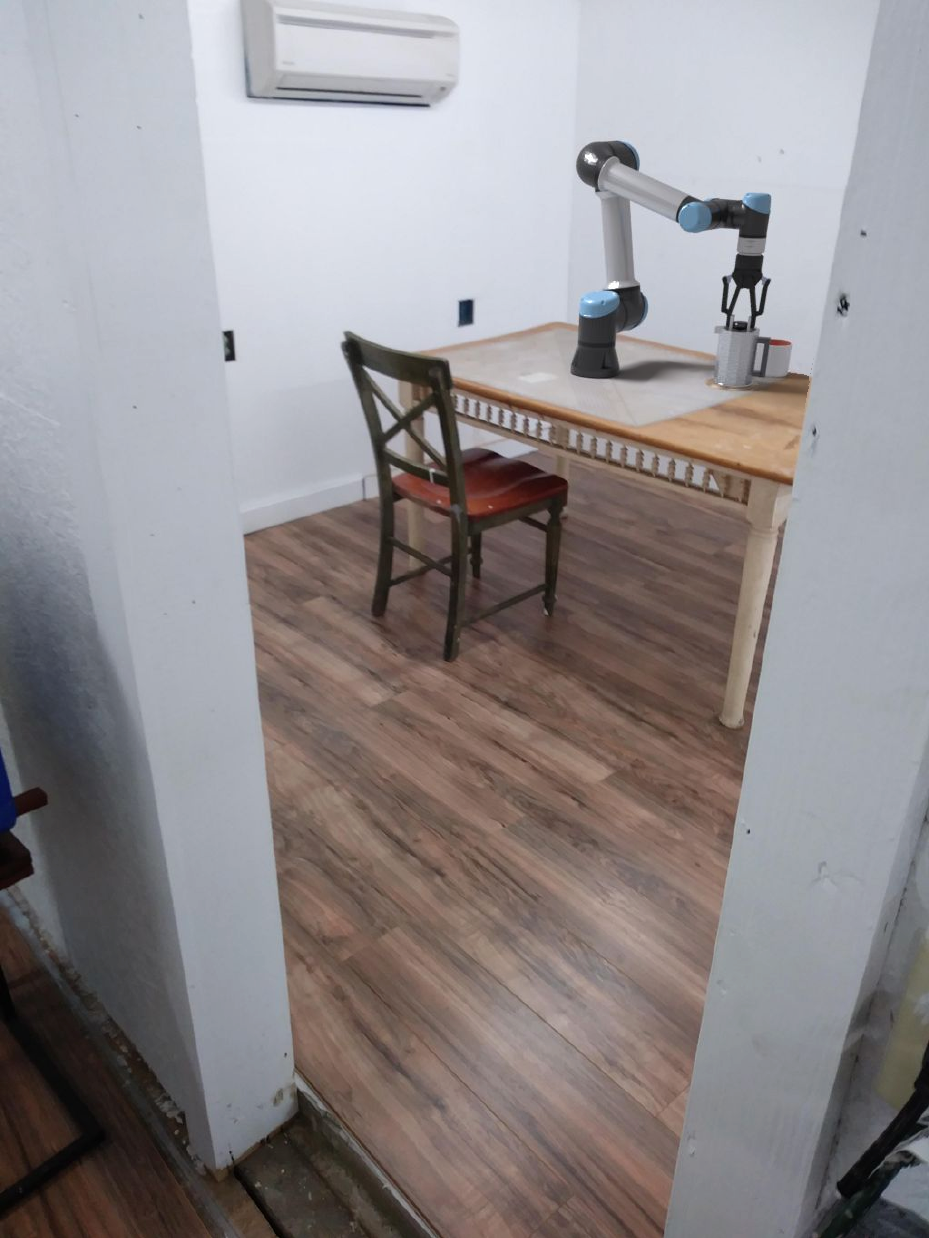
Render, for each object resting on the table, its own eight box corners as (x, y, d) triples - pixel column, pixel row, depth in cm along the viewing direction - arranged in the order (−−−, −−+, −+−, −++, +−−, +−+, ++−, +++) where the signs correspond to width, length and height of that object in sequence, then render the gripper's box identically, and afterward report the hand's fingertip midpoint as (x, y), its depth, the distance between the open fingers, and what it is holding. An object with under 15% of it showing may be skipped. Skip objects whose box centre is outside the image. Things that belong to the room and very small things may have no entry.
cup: (788, 380, 291) (794, 346, 286) (754, 378, 292) (759, 345, 288) (785, 372, 299) (790, 339, 295) (752, 370, 301) (757, 338, 296)
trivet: (700, 389, 280) (700, 387, 280) (709, 377, 293) (709, 375, 293) (756, 395, 275) (756, 393, 275) (763, 382, 288) (763, 380, 288)
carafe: (705, 385, 282) (712, 330, 274) (711, 377, 291) (718, 323, 283) (760, 391, 276) (769, 334, 269) (765, 382, 285) (773, 327, 278)
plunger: (719, 361, 279) (724, 323, 274) (723, 355, 285) (728, 318, 280) (747, 363, 276) (753, 325, 271) (751, 358, 282) (756, 320, 277)
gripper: (716, 253, 267) (706, 339, 277) (780, 257, 261) (767, 344, 272) (720, 250, 273) (710, 334, 284) (783, 253, 267) (770, 339, 278)
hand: (738, 339), depth 278 cm, fingers open, 4 cm apart
